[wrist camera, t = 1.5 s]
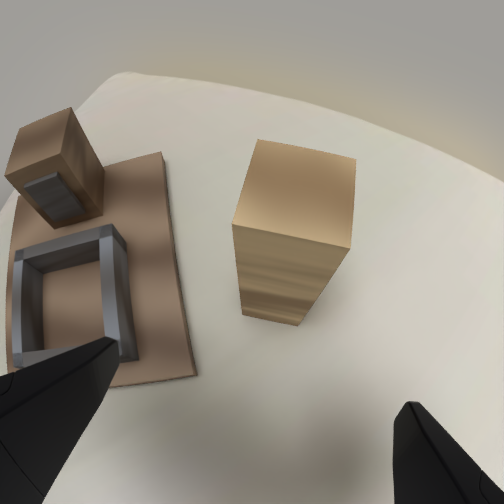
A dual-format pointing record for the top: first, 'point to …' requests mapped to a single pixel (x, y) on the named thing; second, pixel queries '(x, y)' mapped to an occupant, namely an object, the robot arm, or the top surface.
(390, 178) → the top surface
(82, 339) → the wooden fixture board
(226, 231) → the top surface
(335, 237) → the beige block
